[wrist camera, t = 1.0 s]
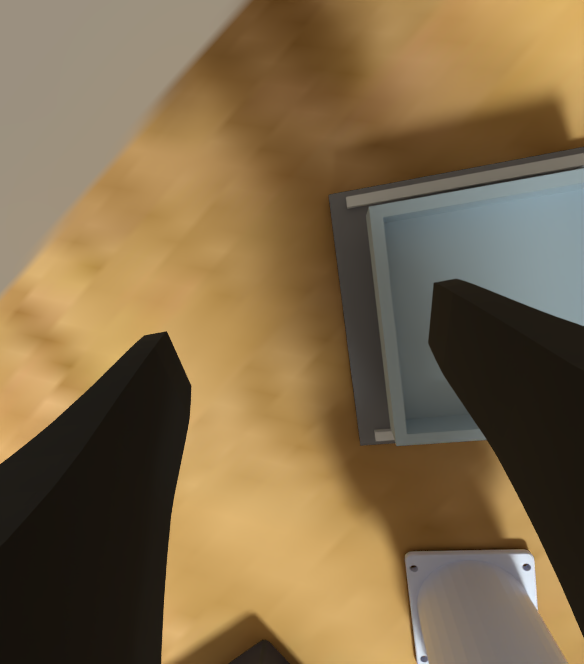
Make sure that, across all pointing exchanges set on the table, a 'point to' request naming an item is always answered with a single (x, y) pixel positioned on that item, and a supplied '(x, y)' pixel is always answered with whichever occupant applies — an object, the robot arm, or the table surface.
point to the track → (359, 276)
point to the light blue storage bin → (474, 267)
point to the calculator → (261, 655)
